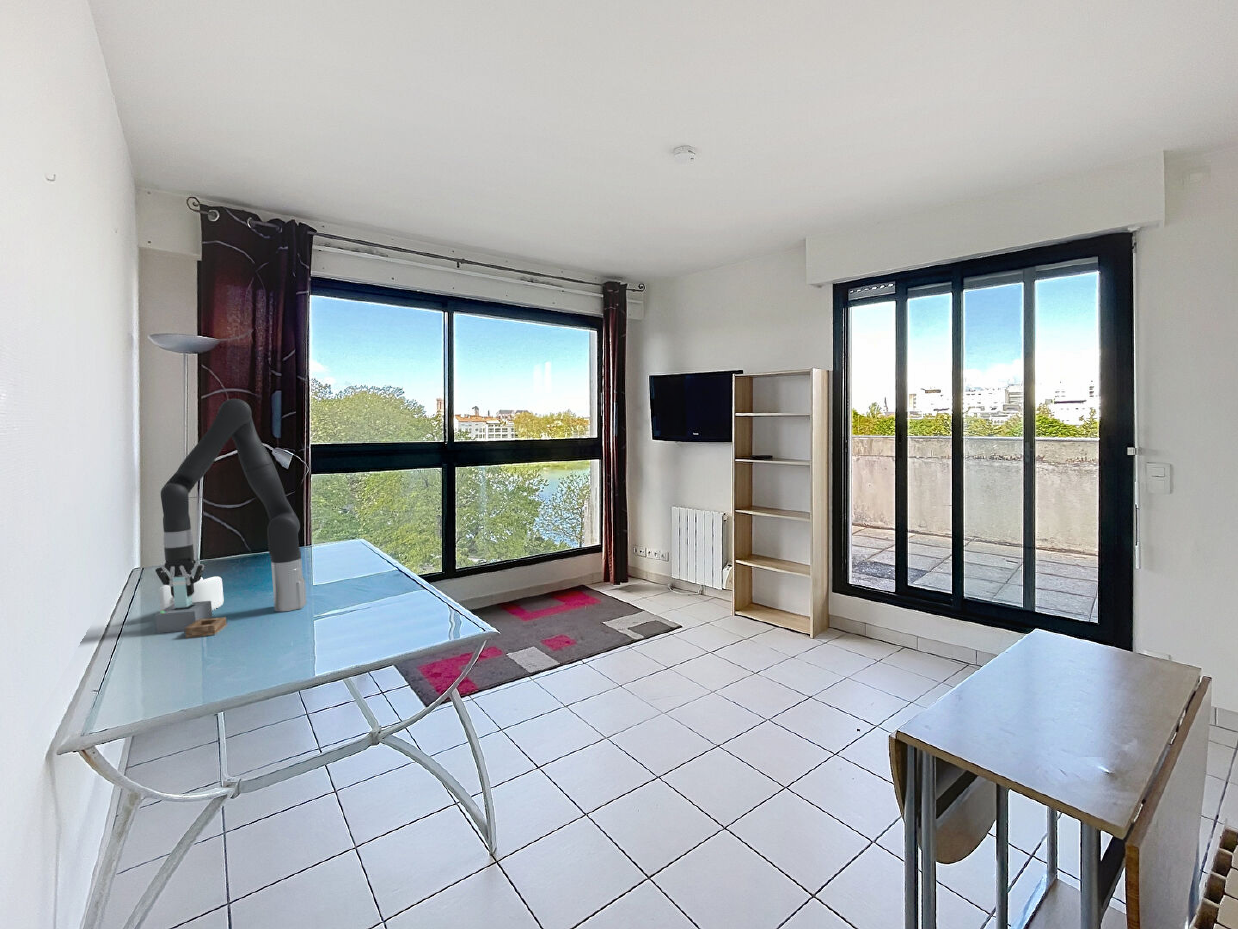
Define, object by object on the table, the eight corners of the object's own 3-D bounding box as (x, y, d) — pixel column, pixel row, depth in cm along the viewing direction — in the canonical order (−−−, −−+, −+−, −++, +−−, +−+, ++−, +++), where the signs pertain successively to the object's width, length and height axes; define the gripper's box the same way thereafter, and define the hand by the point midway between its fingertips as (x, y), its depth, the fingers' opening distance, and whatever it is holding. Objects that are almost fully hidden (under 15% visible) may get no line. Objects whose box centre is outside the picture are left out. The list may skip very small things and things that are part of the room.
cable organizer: (185, 621, 193) (182, 587, 192) (160, 619, 196) (156, 586, 195) (224, 606, 208) (222, 575, 207) (200, 605, 210) (198, 574, 209)
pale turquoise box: (192, 603, 190) (190, 574, 190) (187, 607, 187) (184, 576, 186) (180, 604, 190) (178, 574, 189) (174, 608, 186) (172, 577, 186)
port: (212, 618, 195) (210, 599, 195) (196, 629, 185) (194, 609, 184) (175, 621, 193) (173, 602, 193) (156, 633, 182) (155, 613, 182)
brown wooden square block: (226, 626, 187) (225, 617, 187) (215, 635, 179) (214, 625, 179) (198, 628, 185) (198, 619, 185) (185, 637, 177) (185, 628, 177)
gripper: (208, 540, 192) (212, 591, 193) (160, 543, 189) (164, 595, 190) (197, 545, 185) (201, 597, 186) (146, 548, 182) (151, 601, 183)
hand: (182, 596), depth 188 cm, fingers closed on pale turquoise box, 3 cm apart
